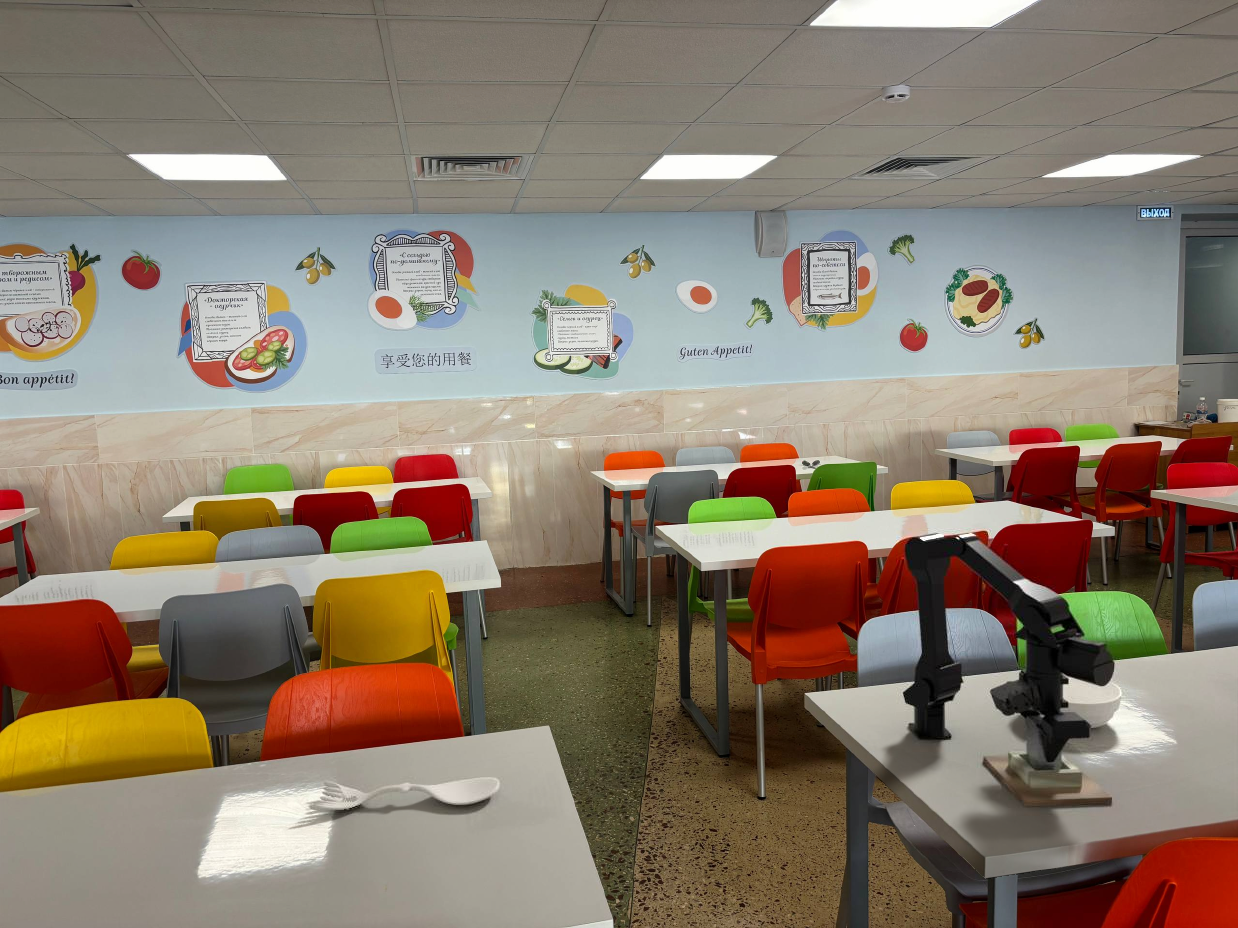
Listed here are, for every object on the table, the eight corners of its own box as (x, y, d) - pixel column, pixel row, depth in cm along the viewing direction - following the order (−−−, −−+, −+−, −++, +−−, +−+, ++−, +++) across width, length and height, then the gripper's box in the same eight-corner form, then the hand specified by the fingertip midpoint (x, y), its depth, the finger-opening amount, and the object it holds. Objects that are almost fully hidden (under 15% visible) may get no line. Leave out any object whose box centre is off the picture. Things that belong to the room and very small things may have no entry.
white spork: (325, 796, 149) (324, 778, 148) (502, 784, 150) (501, 766, 150) (309, 823, 140) (307, 803, 140) (497, 810, 141) (496, 790, 141)
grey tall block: (1026, 765, 143) (1026, 715, 142) (1049, 764, 143) (1049, 714, 142) (1037, 775, 139) (1038, 725, 139) (1061, 775, 139) (1061, 724, 138)
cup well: (983, 761, 150) (983, 742, 149) (1060, 757, 149) (1060, 739, 149) (1025, 806, 134) (1025, 785, 133) (1112, 802, 133) (1112, 782, 133)
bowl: (1122, 711, 168) (1123, 677, 167) (1120, 747, 153) (1121, 709, 152) (1023, 697, 178) (1023, 664, 177) (1012, 729, 162) (1012, 693, 162)
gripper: (973, 652, 149) (973, 734, 151) (1023, 690, 130) (1022, 784, 132) (1035, 649, 149) (1034, 732, 150) (1093, 687, 130) (1092, 781, 132)
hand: (1043, 755), depth 141 cm, fingers closed on grey tall block, 4 cm apart
